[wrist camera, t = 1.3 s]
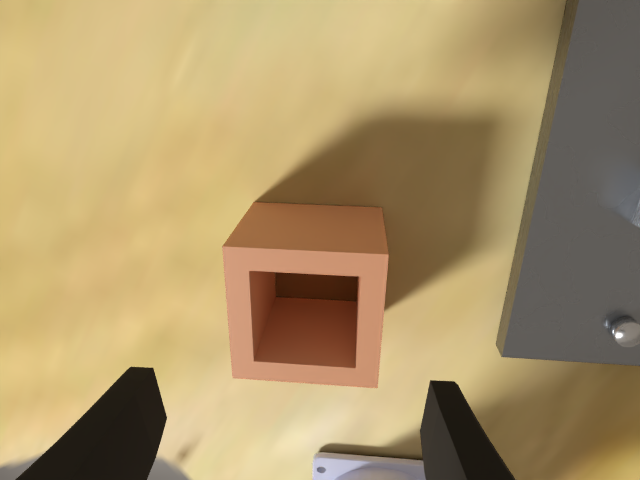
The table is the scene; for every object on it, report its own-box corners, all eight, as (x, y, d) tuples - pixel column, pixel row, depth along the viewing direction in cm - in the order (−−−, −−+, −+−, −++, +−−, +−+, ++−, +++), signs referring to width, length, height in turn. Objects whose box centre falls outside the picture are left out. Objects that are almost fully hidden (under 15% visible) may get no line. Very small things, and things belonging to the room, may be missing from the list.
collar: (373, 318, 22) (377, 388, 17) (258, 311, 22) (232, 378, 18) (381, 207, 20) (388, 254, 15) (253, 202, 20) (222, 246, 16)
